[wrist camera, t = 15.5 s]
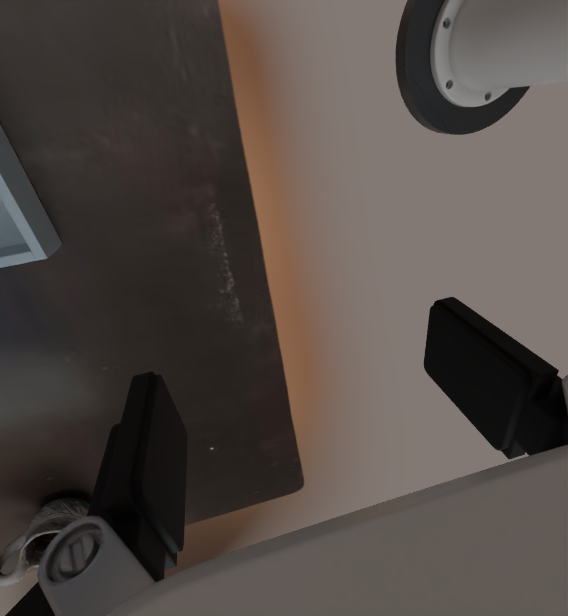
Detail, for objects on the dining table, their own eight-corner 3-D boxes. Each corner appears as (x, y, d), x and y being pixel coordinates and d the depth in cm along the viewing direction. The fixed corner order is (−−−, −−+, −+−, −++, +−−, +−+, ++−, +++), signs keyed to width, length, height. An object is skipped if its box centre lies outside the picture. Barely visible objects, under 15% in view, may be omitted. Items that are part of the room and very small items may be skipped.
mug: (111, 511, 59) (96, 577, 50) (37, 533, 57) (9, 605, 49) (86, 481, 54) (65, 548, 45) (5, 503, 52) (-33, 578, 44)
